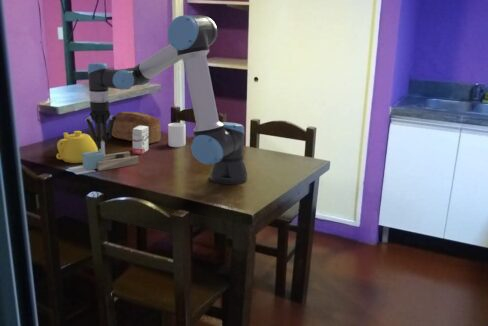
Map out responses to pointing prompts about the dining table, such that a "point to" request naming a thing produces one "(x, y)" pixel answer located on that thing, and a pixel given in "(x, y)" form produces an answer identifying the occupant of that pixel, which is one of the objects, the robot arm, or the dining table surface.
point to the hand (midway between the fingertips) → (102, 155)
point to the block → (92, 159)
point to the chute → (117, 161)
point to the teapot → (75, 147)
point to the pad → (80, 170)
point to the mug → (176, 134)
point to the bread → (135, 125)
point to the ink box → (140, 139)
